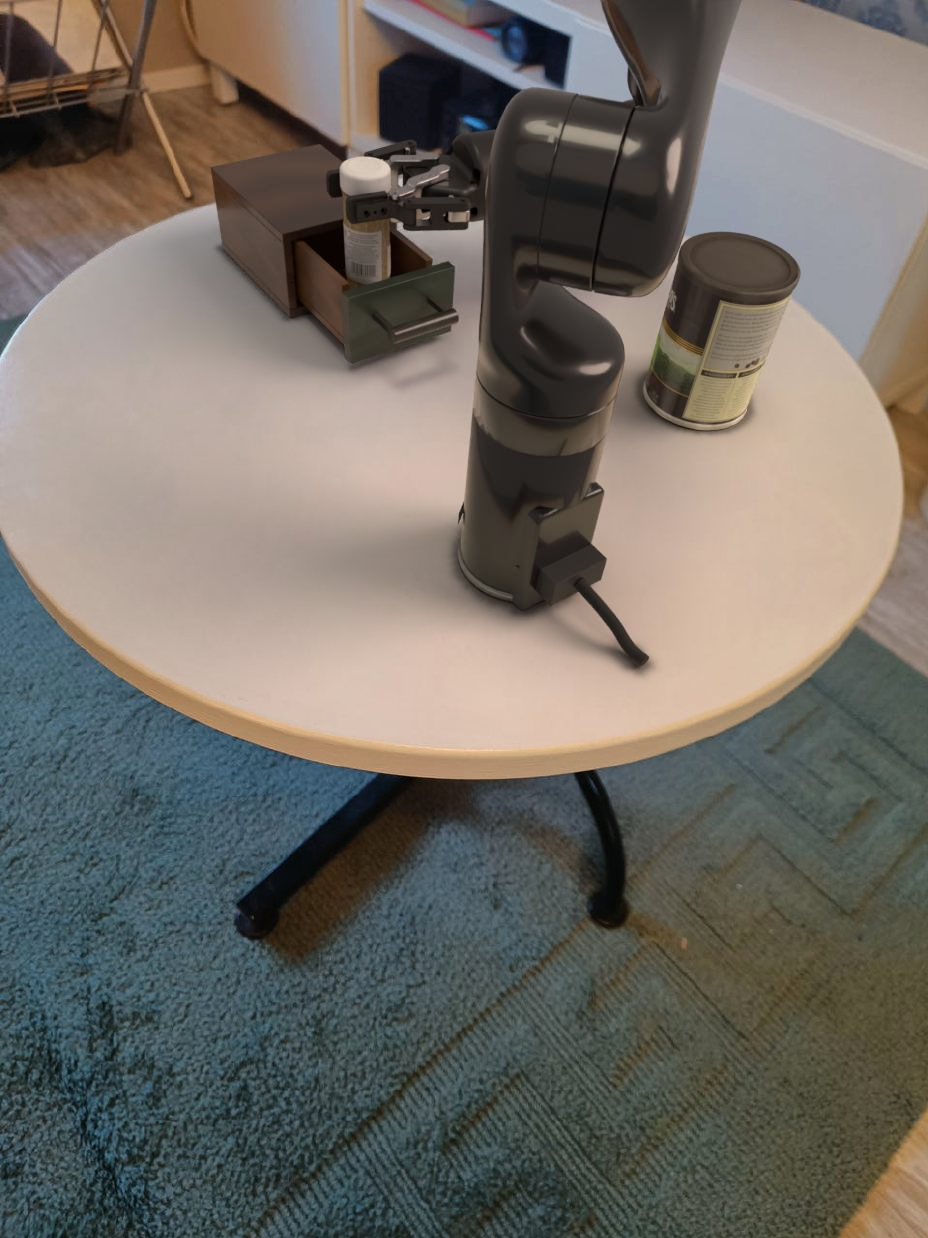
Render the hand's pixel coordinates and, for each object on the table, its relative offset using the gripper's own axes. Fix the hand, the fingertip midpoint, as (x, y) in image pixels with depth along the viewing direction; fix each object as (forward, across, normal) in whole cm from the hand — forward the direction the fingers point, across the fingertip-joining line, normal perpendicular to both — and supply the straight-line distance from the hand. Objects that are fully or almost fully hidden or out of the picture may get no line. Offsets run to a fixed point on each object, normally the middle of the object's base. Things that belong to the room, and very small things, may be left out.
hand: (338, 197), depth 78 cm
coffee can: (-28, +22, +13) cm, 38 cm away
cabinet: (0, -12, +13) cm, 18 cm away
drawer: (-3, +1, +12) cm, 13 cm away
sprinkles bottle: (-3, 0, +11) cm, 12 cm away
